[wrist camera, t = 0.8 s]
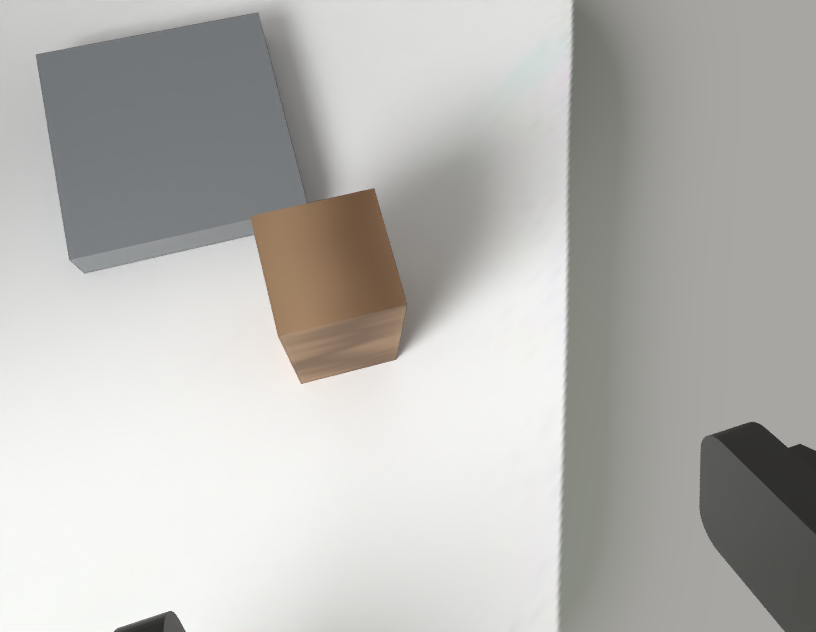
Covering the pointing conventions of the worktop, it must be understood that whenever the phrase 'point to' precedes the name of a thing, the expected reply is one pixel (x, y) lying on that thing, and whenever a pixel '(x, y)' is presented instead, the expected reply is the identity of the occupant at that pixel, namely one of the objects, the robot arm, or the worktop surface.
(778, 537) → the robot arm
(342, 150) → the worktop surface
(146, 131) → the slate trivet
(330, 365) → the walnut block
